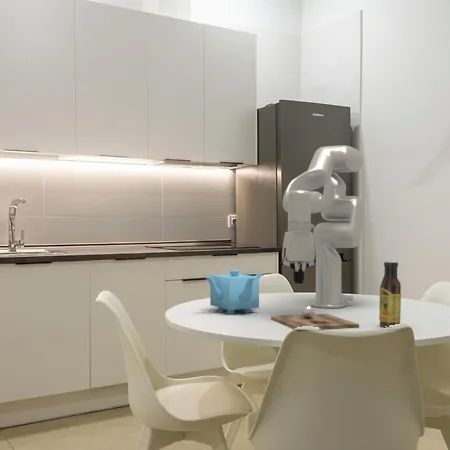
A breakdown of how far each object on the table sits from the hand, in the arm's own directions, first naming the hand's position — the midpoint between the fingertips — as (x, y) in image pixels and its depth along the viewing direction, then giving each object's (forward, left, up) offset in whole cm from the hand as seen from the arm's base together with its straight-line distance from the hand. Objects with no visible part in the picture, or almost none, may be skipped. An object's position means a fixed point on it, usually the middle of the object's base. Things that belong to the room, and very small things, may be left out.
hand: (298, 283), depth 205 cm
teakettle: (+16, -19, -12) cm, 28 cm away
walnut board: (0, +11, -12) cm, 16 cm away
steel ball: (0, +7, -9) cm, 11 cm away
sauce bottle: (-20, +23, -12) cm, 33 cm away
